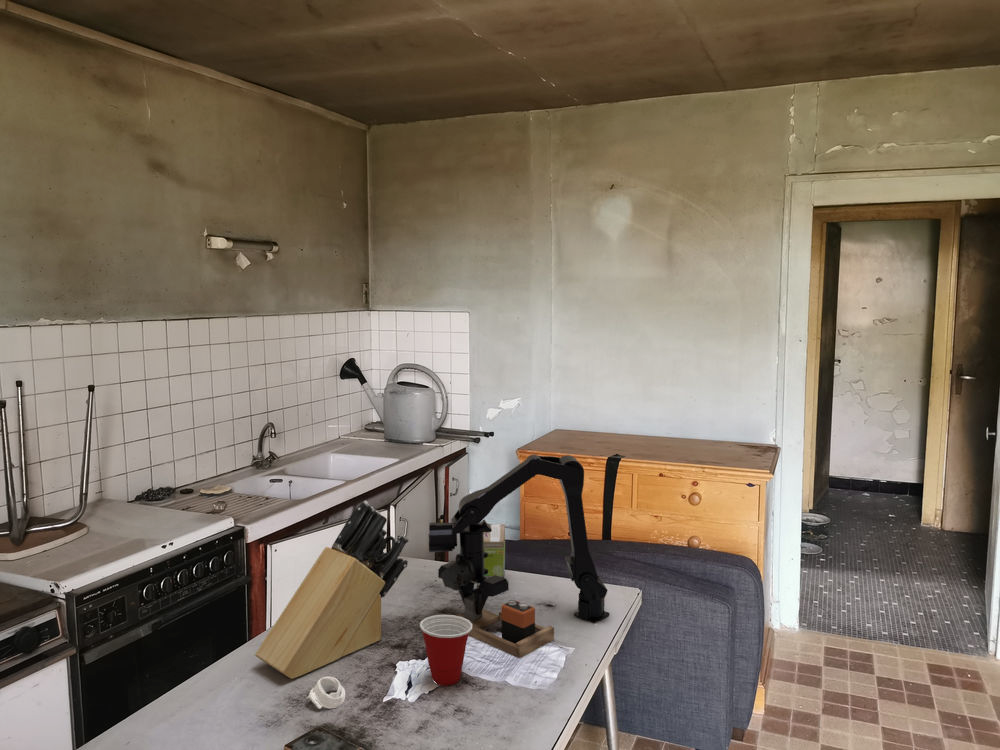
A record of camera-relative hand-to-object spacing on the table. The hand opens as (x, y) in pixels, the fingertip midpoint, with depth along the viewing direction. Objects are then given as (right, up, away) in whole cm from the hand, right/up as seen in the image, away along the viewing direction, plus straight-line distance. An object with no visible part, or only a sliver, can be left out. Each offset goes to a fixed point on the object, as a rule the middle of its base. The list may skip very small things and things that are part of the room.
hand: (473, 612), depth 182 cm
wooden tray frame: (+6, -3, -5) cm, 8 cm away
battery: (+11, -4, -11) cm, 16 cm away
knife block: (-30, -4, -11) cm, 32 cm away
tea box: (+3, 0, +24) cm, 24 cm away
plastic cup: (-4, -6, -26) cm, 27 cm away
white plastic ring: (-27, -7, -33) cm, 44 cm away
